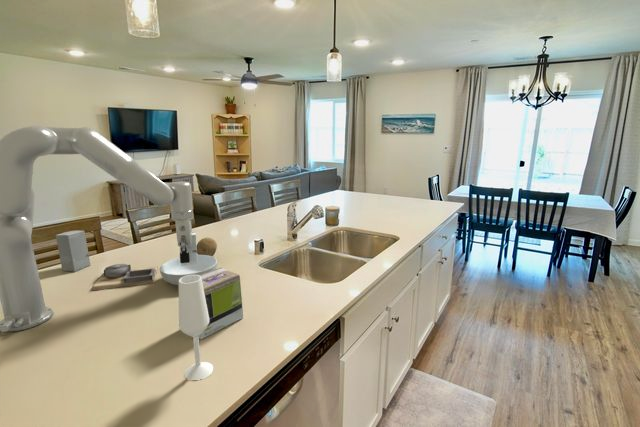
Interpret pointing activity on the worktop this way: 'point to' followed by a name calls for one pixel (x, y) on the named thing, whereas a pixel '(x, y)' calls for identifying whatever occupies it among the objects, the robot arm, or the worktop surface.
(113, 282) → the board
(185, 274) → the serving bowl
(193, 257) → the skincare box
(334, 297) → the worktop surface
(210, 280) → the tea box
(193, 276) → the champagne flute
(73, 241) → the skincare box
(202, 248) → the natural sponge
